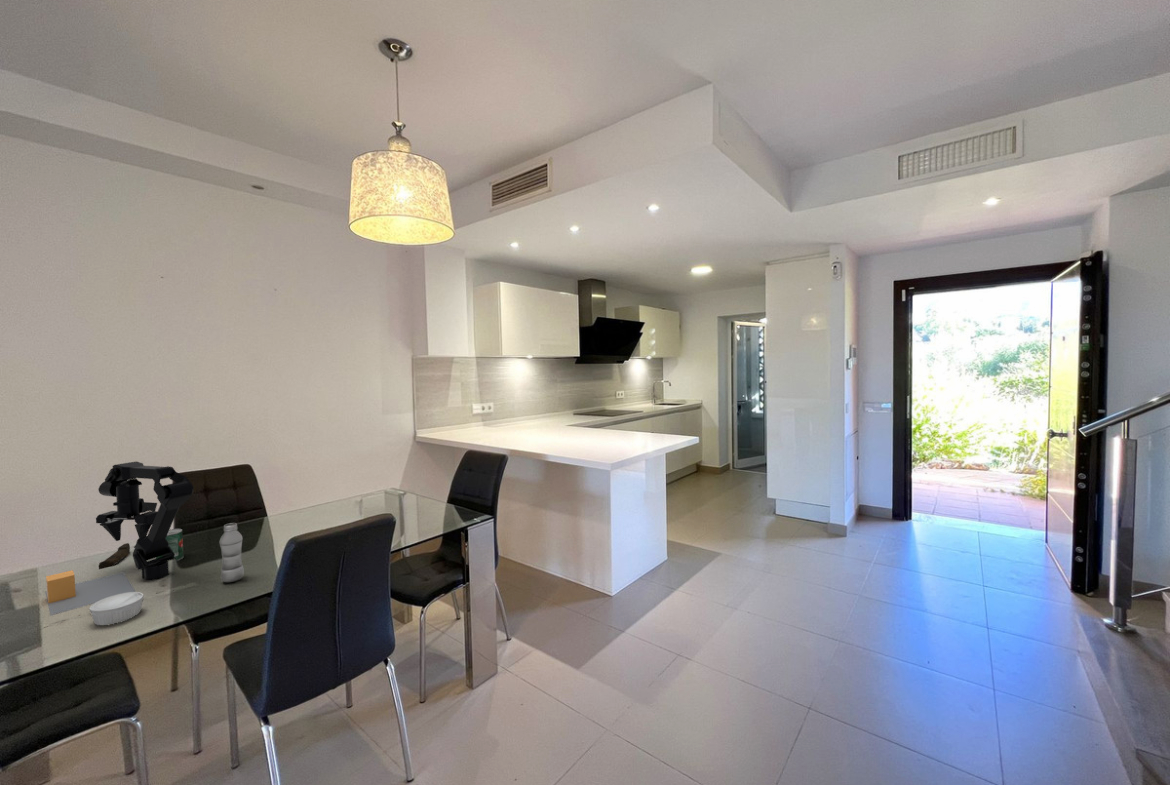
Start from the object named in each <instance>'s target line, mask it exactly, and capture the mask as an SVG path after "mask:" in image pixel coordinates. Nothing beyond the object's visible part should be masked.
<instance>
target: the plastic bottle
mask: <svg viewBox="0 0 1170 785" xmlns="http://www.w3.org/2000/svg"><path fill="white" fill-rule="evenodd" d="M242 546H243V535H242V533H240V532H239V530H238V524H237V522H230V523H226V524H224V525H223V534H222V535H221V537H220V539H219V547H220V551H221V556H222V557H221V559H222V560H221V561H222V562H221V563H222V564H221V571H220V580H221V581H222V582H223V583H233V582H237V581H239V580H241V579H243V577H244V575H245V569H244V566H243V560H242Z"/></svg>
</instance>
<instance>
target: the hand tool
mask: <svg viewBox="0 0 1170 785" xmlns="http://www.w3.org/2000/svg"><path fill="white" fill-rule="evenodd" d="M130 545H131V544H130V543H129V542H127V543H123V544H122V545H121V546H118V548H117V551H116V552H113V553H112V554H111V555H110V556H109V557H107V558H106V559H105V560H103V561H101V562H99V564H98V570H102V569H107V568H110V567H115V565H116V564H118V563H119V562H120V561H122V559H125V558H127V557H128V556H129V555H130V554H131V552H130V551H131V546H130Z"/></svg>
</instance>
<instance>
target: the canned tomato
mask: <svg viewBox="0 0 1170 785" xmlns="http://www.w3.org/2000/svg"><path fill="white" fill-rule="evenodd" d="M183 538H184V537H183V529H181V528H170V529H169V532H168V534H167V536H166V540H167V541H168V543H169V547H170V548H171V550H172V551H173V553H174V554H175V555H174V559H175V560H176V561H181V560H183V558H185V557H184V545H183V544H184V540H183ZM160 557H163V556H159V557H156V558H155V559H157V558H160Z"/></svg>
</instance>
